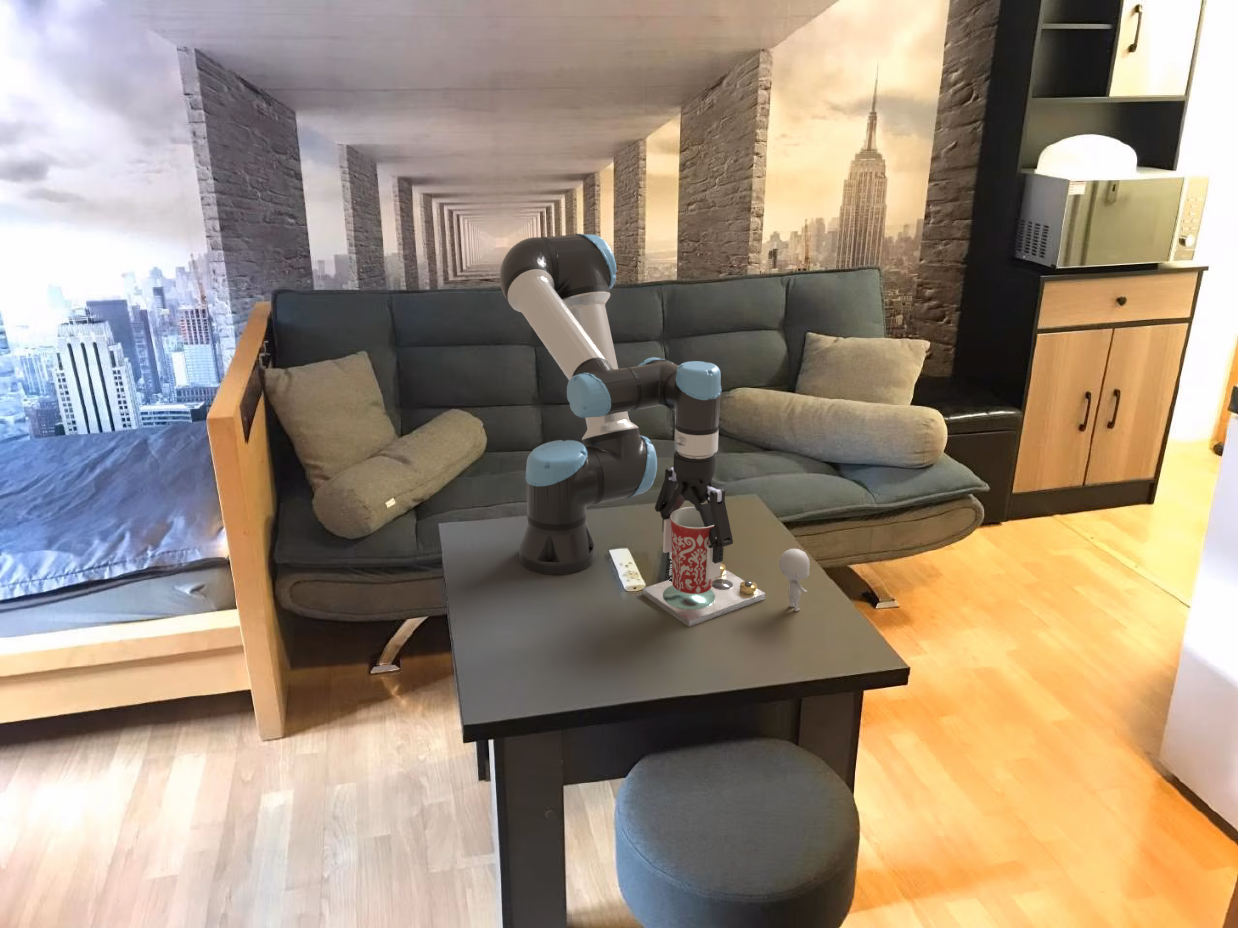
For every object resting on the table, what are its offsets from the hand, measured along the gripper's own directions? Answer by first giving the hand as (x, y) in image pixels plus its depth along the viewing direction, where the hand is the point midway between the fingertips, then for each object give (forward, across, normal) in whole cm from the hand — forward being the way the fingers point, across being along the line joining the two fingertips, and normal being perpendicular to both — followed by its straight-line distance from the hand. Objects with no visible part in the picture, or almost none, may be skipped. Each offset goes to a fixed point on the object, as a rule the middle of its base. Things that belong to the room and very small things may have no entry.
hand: (690, 563), depth 176 cm
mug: (+3, 0, 0) cm, 3 cm away
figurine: (+8, +12, +14) cm, 20 cm away
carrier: (+8, 0, +4) cm, 9 cm away
